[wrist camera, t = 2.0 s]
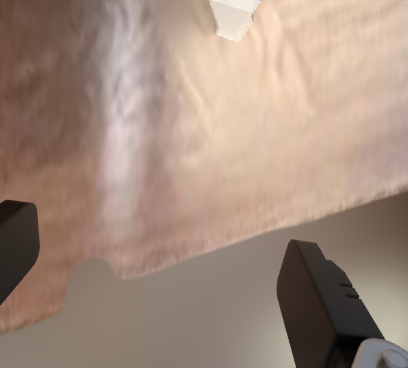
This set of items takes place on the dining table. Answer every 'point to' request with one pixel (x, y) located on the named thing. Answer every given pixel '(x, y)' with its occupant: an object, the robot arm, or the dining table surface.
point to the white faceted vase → (233, 17)
